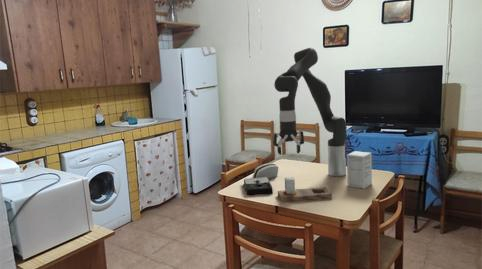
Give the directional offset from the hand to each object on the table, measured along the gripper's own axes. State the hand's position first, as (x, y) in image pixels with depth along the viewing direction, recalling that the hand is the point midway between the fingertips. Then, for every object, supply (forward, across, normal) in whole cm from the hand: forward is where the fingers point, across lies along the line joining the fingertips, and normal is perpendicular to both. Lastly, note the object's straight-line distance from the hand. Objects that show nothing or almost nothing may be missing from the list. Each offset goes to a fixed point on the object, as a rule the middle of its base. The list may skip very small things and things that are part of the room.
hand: (289, 153), depth 172 cm
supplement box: (+22, -38, -10) cm, 46 cm away
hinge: (+22, +7, -34) cm, 41 cm away
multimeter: (+23, +14, -17) cm, 32 cm away
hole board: (+22, -6, +1) cm, 23 cm away
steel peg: (+22, 0, +1) cm, 22 cm away
